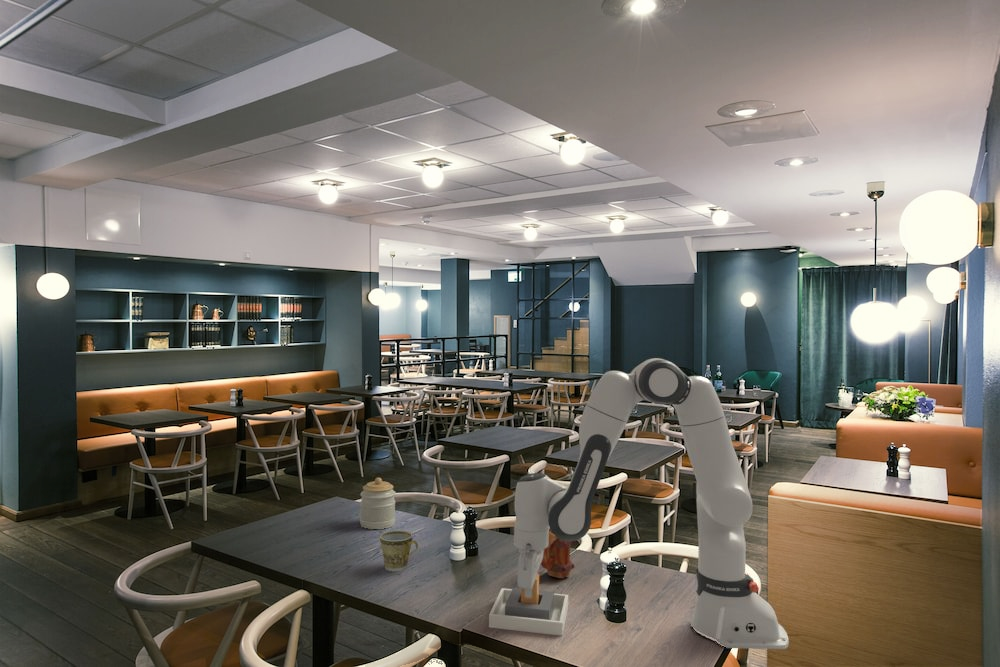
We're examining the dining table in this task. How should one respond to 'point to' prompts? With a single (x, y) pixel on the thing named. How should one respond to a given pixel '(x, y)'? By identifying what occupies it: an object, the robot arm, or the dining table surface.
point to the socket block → (530, 605)
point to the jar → (377, 505)
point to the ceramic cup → (396, 549)
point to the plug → (535, 596)
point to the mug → (557, 557)
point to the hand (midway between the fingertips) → (530, 592)
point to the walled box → (529, 624)
